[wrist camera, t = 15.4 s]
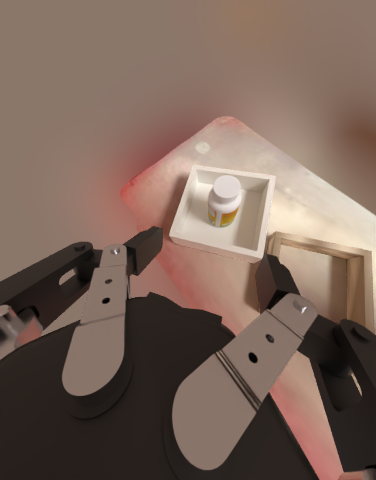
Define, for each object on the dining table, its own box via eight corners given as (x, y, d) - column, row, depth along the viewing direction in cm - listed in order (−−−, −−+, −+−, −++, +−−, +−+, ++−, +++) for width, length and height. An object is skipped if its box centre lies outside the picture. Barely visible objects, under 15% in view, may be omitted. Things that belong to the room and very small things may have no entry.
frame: (353, 255, 26) (371, 251, 23) (354, 342, 22) (375, 350, 20) (269, 236, 29) (275, 231, 26) (257, 311, 25) (263, 314, 22)
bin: (266, 192, 32) (276, 175, 27) (253, 263, 28) (262, 258, 23) (195, 181, 35) (193, 164, 30) (174, 243, 31) (168, 235, 26)
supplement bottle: (237, 208, 30) (250, 175, 21) (230, 231, 29) (240, 206, 20) (212, 202, 32) (214, 167, 23) (204, 223, 30) (202, 196, 21)
